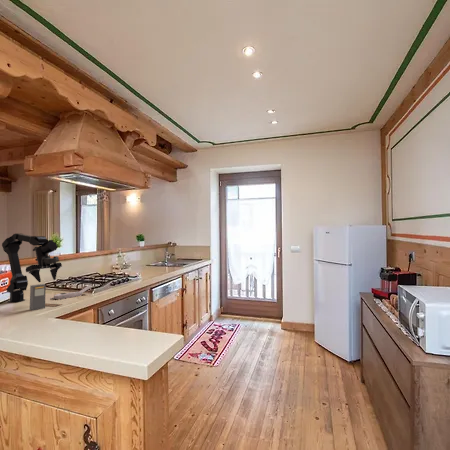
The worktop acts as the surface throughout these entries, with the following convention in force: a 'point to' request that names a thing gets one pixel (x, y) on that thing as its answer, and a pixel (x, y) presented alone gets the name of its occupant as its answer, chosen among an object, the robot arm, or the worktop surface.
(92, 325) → the worktop surface
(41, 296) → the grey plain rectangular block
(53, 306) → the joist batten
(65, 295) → the mobile phone
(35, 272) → the robot arm
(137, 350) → the worktop surface
